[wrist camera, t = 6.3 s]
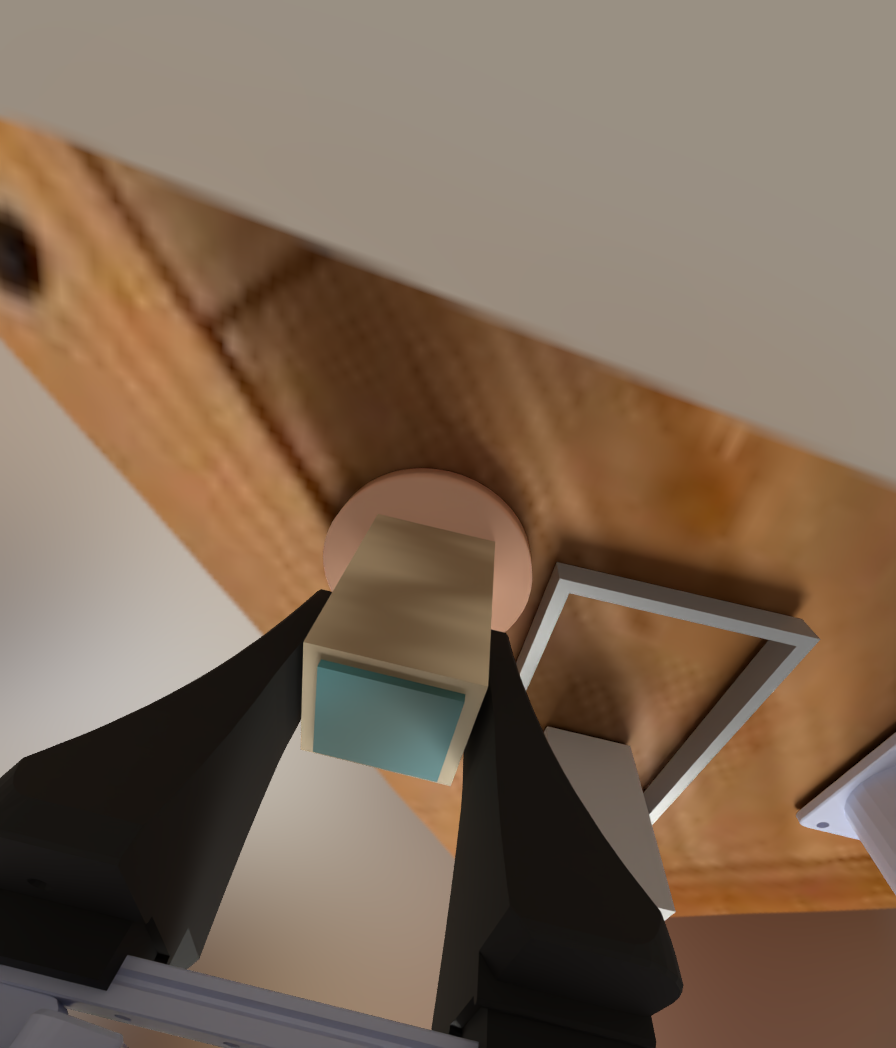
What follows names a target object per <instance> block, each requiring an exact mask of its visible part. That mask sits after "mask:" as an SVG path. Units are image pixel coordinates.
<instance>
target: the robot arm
mask: <svg viewBox="0 0 896 1048" xmlns="http://www.w3.org/2000/svg"><path fill="white" fill-rule="evenodd" d="M331 594H332V592H330V591H326V590H322V589H321V590H319V591H317V592H316V593H315V594H314V595H313V596H312V597H310V598H309V599H308V600H307V601H306V602H305V603H303V604H302V605H301V606H300V607H299V608H298V609H296V610H295V611H294V612H293V613H291V614H290V615H289V616H288V617H287V618H285V619H284V620H283V621H281V622H280V623H279V624H278V625H276V626H275V627H274V628H272V629H271V630H270V631H269V632H267V633H266V634H265V635H263V636H262V637H261V638H259V639H258V640H256V641H255V642H254V643H252V644H251V645H249V646H248V647H246V648H245V649H243V650H242V651H241V652H239V653H238V654H236V655H235V656H233V657H232V658H230V659H229V660H227V661H226V662H224V663H223V664H221V665H219V666H218V667H216V668H215V669H213V670H211V671H210V672H208V673H206V674H205V675H203V676H202V677H200V678H198V679H196V680H195V681H193V682H191V683H189V684H187V685H185V686H184V687H182V688H180V689H178V690H176V691H174V692H173V693H171V694H169V695H167V696H165V697H163V698H161V699H159V700H157V701H155V702H153V703H152V704H150V705H148V706H145V707H143V708H141V709H139V710H137V711H135V712H133V713H130V714H128V715H126V716H124V717H122V718H120V719H117V720H115V721H113V722H111V723H109V724H107V725H105V726H102V727H100V728H98V729H95V730H93V731H91V732H88V733H86V734H83V735H81V736H79V737H76V738H73V739H71V740H68V741H65V742H63V743H60V744H58V745H55V746H53V747H50V748H48V749H45V750H43V751H40V752H37V753H35V754H32V755H29V756H27V757H24V758H23V759H21V760H20V761H19V762H18V763H17V764H16V765H15V766H13V767H12V768H11V769H10V770H9V771H8V772H6V773H5V774H4V775H3V776H2V777H1V778H0V1048H128V1047H127V1046H126V1045H125V1044H124V1043H123V1035H122V1034H119V1033H117V1032H114V1031H111V1030H108V1029H106V1028H103V1027H100V1026H97V1025H95V1024H92V1023H89V1022H86V1021H84V1020H81V1019H78V1018H75V1017H73V1016H70V1015H68V1011H67V1009H66V1008H68V1009H71V1010H75V1011H79V1012H84V1013H87V1014H91V1015H96V1016H99V1017H103V1018H107V1019H111V1020H115V1021H119V1022H123V1023H127V1024H131V1025H135V1026H139V1027H143V1028H147V1029H151V1030H155V1031H160V1032H164V1033H168V1034H172V1035H175V1036H179V1037H183V1038H187V1039H191V1040H195V1041H200V1042H203V1043H207V1044H212V1045H215V1046H219V1047H223V1048H656V1038H655V1033H654V1028H653V1023H652V1018H651V1016H652V1015H653V1014H655V1013H657V1012H658V1011H660V1010H662V1009H663V1008H665V1007H667V1006H669V1005H671V1004H672V1003H674V1002H675V1001H676V1000H677V999H678V998H679V997H680V995H681V993H682V988H683V982H682V978H681V974H680V970H679V966H678V962H677V958H676V955H675V951H674V948H673V945H672V942H671V939H670V936H669V933H668V930H667V927H666V924H665V921H664V919H663V916H662V912H661V911H660V910H659V909H658V907H657V906H656V905H655V903H654V902H653V901H652V900H651V898H650V897H649V896H648V894H647V893H646V892H645V891H644V889H643V888H642V887H641V886H640V884H639V883H638V882H637V880H636V879H635V878H634V877H633V875H632V874H631V873H630V871H629V870H628V869H627V867H626V866H625V865H624V863H623V862H622V861H621V859H620V858H619V856H618V855H617V854H616V852H615V851H614V849H613V848H612V847H611V845H610V844H609V842H608V841H607V839H606V838H605V837H604V835H603V834H602V832H601V831H600V829H599V828H598V826H597V824H596V823H595V821H594V820H593V818H592V817H591V815H590V814H589V812H588V811H587V809H586V807H585V806H584V804H583V803H582V801H581V800H580V798H579V797H578V795H577V793H576V792H575V790H574V788H573V787H572V785H571V783H570V781H569V780H568V778H567V776H566V775H565V773H564V771H563V769H562V767H561V766H560V764H559V762H558V760H557V758H556V756H555V754H554V753H553V751H552V749H551V747H550V745H549V743H548V741H547V739H546V737H545V734H544V732H543V730H542V728H541V726H540V724H539V721H538V719H537V717H536V715H535V712H534V710H533V708H532V705H531V703H530V700H529V698H528V695H527V693H526V690H525V688H524V685H523V682H522V680H521V677H520V674H519V671H518V668H517V665H516V662H515V659H514V656H513V652H512V649H511V645H510V641H509V637H508V635H507V634H506V633H504V632H500V631H496V630H492V629H491V639H490V659H489V680H488V688H487V691H486V694H485V696H484V699H483V701H482V704H481V707H480V709H479V712H478V715H477V717H476V720H475V723H474V725H473V728H472V731H471V733H470V736H469V738H468V741H467V744H466V746H465V749H464V759H463V790H462V804H461V814H460V822H459V831H458V839H457V848H456V856H455V864H454V872H453V880H452V888H451V895H450V903H449V910H448V917H447V925H446V932H445V940H444V947H443V954H442V961H441V968H440V975H439V982H438V989H437V996H436V1003H435V1009H434V1015H433V1023H432V1030H428V1029H424V1028H420V1027H416V1026H412V1025H408V1024H404V1023H400V1022H396V1021H392V1020H388V1019H384V1018H380V1017H376V1016H372V1015H368V1014H364V1013H360V1012H356V1011H352V1010H348V1009H344V1008H339V1007H335V1006H331V1005H327V1004H324V1003H320V1002H316V1001H311V1000H307V999H303V998H299V997H295V996H291V995H287V994H283V993H279V992H275V991H271V990H267V989H263V988H259V987H255V986H251V985H247V984H243V983H239V982H235V981H231V980H227V979H223V978H219V977H215V976H211V975H207V974H202V973H198V972H194V971H190V970H187V968H189V967H190V966H192V965H193V964H194V963H195V962H196V961H197V960H198V959H199V958H200V955H201V953H202V950H203V947H204V945H205V942H206V939H207V936H208V934H209V932H210V929H211V926H212V924H213V921H214V918H215V916H216V913H217V911H218V908H219V906H220V903H221V900H222V898H223V895H224V893H225V890H226V887H227V885H228V882H229V880H230V877H231V875H232V872H233V870H234V867H235V865H236V862H237V860H238V857H239V855H240V852H241V850H242V847H243V845H244V842H245V840H246V838H247V835H248V833H249V830H250V828H251V826H252V823H253V821H254V818H255V816H256V814H257V811H258V809H259V806H260V804H261V801H262V799H263V797H264V795H265V792H266V790H267V788H268V785H269V783H270V781H271V778H272V776H273V774H274V772H275V769H276V767H277V765H278V762H279V760H280V758H281V756H282V754H283V752H284V750H285V748H286V746H287V744H288V742H289V741H290V739H291V737H292V735H293V733H294V731H295V730H296V728H297V726H298V724H299V722H300V720H301V714H302V677H303V642H304V640H305V638H306V637H307V635H308V633H309V632H310V630H311V628H312V626H313V625H314V623H315V621H316V619H317V618H318V616H319V614H320V613H321V611H322V609H323V607H324V606H325V604H326V602H327V601H328V599H329V597H330V595H331ZM796 817H797V819H798V821H799V822H800V824H801V825H802V826H805V827H808V828H812V829H816V830H820V831H825V832H829V833H833V834H837V835H841V836H845V837H850V838H854V839H858V840H860V841H861V842H862V844H863V845H864V847H865V848H866V850H867V851H868V853H869V854H870V856H871V858H872V859H873V861H874V862H875V864H876V865H877V867H878V868H879V870H880V871H881V873H882V875H883V876H884V878H885V879H886V881H887V882H888V884H889V885H890V887H891V889H892V890H893V892H894V893H895V895H896V732H895V733H894V734H893V735H892V736H890V737H889V738H888V739H887V740H885V741H884V742H883V743H882V744H880V745H879V746H878V747H877V748H876V749H874V750H873V751H872V752H871V753H869V754H868V755H867V756H866V757H864V758H863V759H862V760H861V761H860V762H858V763H857V764H856V765H855V766H853V767H852V768H851V769H850V770H848V771H847V772H846V773H845V774H844V775H842V776H841V777H840V778H839V779H837V780H836V781H835V782H834V783H832V784H831V785H830V786H829V787H828V788H826V789H825V790H824V791H823V792H821V793H820V794H819V795H818V796H816V797H815V798H814V799H813V800H812V801H810V802H809V803H808V804H807V805H805V806H804V807H803V808H802V809H800V810H799V811H798V812H797V814H796Z"/></svg>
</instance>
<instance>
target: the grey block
mask: <svg viewBox="0 0 896 1048" xmlns="http://www.w3.org/2000/svg"><path fill="white" fill-rule="evenodd" d="M544 734H545V737H546V739H547V741H548V743H549V745H550V747H551V749H552V751H553V753H554V754H555V756H556V758H557V760H558V762H559V764H560V766H561V767H562V769H563V771H564V773H565V775H566V776H567V778H568V780H569V781H570V783H571V785H572V787H573V788H574V790H575V792H576V793H577V795H578V797H579V798H580V800H581V801H582V803H583V804H584V806H585V807H586V809H587V811H588V812H589V814H590V815H591V817H592V818H593V820H594V821H595V823H596V824H597V826H598V828H599V829H600V831H601V832H602V834H603V835H604V837H605V838H606V839H607V841H608V842H609V844H610V845H611V847H612V848H613V849H614V851H615V852H616V854H617V855H618V856H619V858H620V859H621V861H622V862H623V863H624V865H625V866H626V867H627V869H628V870H629V871H630V873H631V874H632V875H633V877H634V878H635V879H636V880H637V882H638V883H639V884H640V886H641V887H642V888H643V889H644V891H645V892H646V893H647V894H648V896H649V897H650V898H651V900H652V901H653V902H654V903H655V905H656V906H657V907H658V909H659V910H660V911H661V912H662V916H663V919H664V921H665V920H666V919H667V918H669V917H670V916H671V915H672V914H674V913H675V912H676V911H675V908H674V904H673V901H672V897H671V893H670V890H669V886H668V882H667V879H666V875H665V871H664V868H663V864H662V860H661V857H660V853H659V849H658V846H657V842H656V838H655V835H654V831H653V827H652V824H651V820H650V816H649V813H648V809H647V805H646V802H645V798H644V794H643V791H642V787H641V783H640V780H639V776H638V772H637V769H636V765H635V761H634V758H633V754H632V750H631V747H630V746H628V745H624V744H620V743H616V742H611V741H607V740H603V739H599V738H594V737H590V736H586V735H582V734H578V733H573V732H569V731H565V730H561V729H556V728H552V727H548V726H547V727H546V729H545V731H544Z"/></svg>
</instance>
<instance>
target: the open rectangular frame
mask: <svg viewBox="0 0 896 1048" xmlns="http://www.w3.org/2000/svg"><path fill="white" fill-rule="evenodd" d="M569 593H571V594H575V595H579V596H584V597H588V598H592V599H597V600H601V601H605V602H609V603H614V604H618V605H622V606H627V607H631V608H635V609H639V610H644V611H648V612H652V613H656V614H661V615H665V616H669V617H674V618H678V619H682V620H686V621H691V622H695V623H699V624H704V625H708V626H712V627H716V628H721V629H725V630H729V631H734V632H738V633H742V634H746V635H751V636H755V637H759V638H763V639H768V641H767V643H766V644H765V645H764V646H763V647H762V649H761V650H760V651H759V652H758V654H757V655H756V656H755V657H754V658H753V660H752V661H751V662H750V663H749V665H748V666H747V667H746V668H745V669H744V671H743V672H742V673H741V674H740V676H739V677H738V678H737V679H736V680H735V682H734V683H733V684H732V685H731V687H730V688H729V689H728V690H727V691H726V693H725V694H724V695H723V696H722V698H721V699H720V700H719V701H718V702H717V704H716V705H715V706H714V707H713V709H712V710H711V711H710V712H709V713H708V715H707V716H706V717H705V718H704V720H703V721H702V722H701V723H700V724H699V726H698V727H697V728H696V729H695V731H694V732H693V733H692V734H691V735H690V737H689V738H688V739H687V740H686V742H685V743H684V744H683V745H682V746H681V748H680V749H679V750H678V751H677V753H676V754H675V755H674V756H673V757H672V759H671V760H670V761H669V762H668V763H667V765H666V766H665V767H664V768H663V770H662V771H661V772H660V773H659V774H658V776H657V777H656V778H655V779H654V781H653V782H652V783H651V784H650V785H649V787H648V788H647V789H646V790H645V792H644V793H643V794H644V798H645V802H646V805H647V809H648V813H649V816H650V820H651V824H652V825H653V823H654V822H655V821H656V820H657V819H658V818H659V817H660V816H661V815H662V814H663V812H664V811H665V810H666V809H667V808H668V807H669V806H670V805H671V804H672V802H673V801H674V800H675V799H676V798H677V797H678V796H679V795H680V794H681V793H682V791H683V790H684V789H685V788H686V787H687V786H688V785H689V784H690V783H691V782H692V780H693V779H694V778H695V777H696V776H697V775H698V774H699V773H700V772H701V771H702V769H703V768H704V767H705V766H706V765H707V764H708V763H709V762H710V761H711V759H712V758H713V757H714V756H715V755H716V754H717V753H718V752H719V751H720V750H721V748H722V747H723V746H724V745H725V744H726V743H727V742H728V741H729V740H730V739H731V737H732V736H733V735H734V734H735V733H736V732H737V731H738V730H739V729H740V727H741V726H742V725H743V724H744V723H745V722H746V721H747V720H748V719H749V718H750V716H751V715H752V714H753V713H754V712H755V711H756V710H757V709H758V708H759V707H760V705H761V704H762V703H763V702H764V701H765V700H766V699H767V698H768V697H769V696H770V694H771V693H772V692H773V691H774V690H775V689H776V688H777V687H778V686H779V684H780V683H781V682H782V681H783V680H784V679H785V678H786V677H787V676H788V675H789V673H790V672H791V671H792V670H793V669H794V668H795V667H796V666H797V665H798V664H799V662H800V661H801V660H802V659H803V658H804V657H805V656H806V655H807V654H808V652H809V651H810V650H811V649H812V648H813V647H814V646H815V645H816V644H817V643H818V641H819V640H820V638H819V637H818V636H817V635H816V634H815V633H814V632H813V631H812V630H811V628H810V627H809V626H808V625H807V624H806V623H805V622H804V621H803V620H802V619H799V618H795V617H791V616H787V615H782V614H778V613H774V612H769V611H765V610H761V609H757V608H752V607H748V606H744V605H739V604H735V603H731V602H726V601H722V600H718V599H714V598H709V597H705V596H701V595H696V594H692V593H688V592H683V591H679V590H675V589H671V588H666V587H662V586H658V585H653V584H649V583H645V582H641V581H636V580H632V579H628V578H623V577H619V576H615V575H610V574H606V573H602V572H598V571H593V570H589V569H585V568H580V567H576V566H572V565H567V564H563V563H559V562H557V563H556V565H555V568H554V570H553V573H552V575H551V578H550V580H549V582H548V585H547V587H546V590H545V592H544V595H543V597H542V600H541V602H540V605H539V607H538V610H537V612H536V615H535V617H534V620H533V622H532V625H531V627H530V630H529V632H528V635H527V637H526V640H525V642H524V645H523V647H522V650H521V652H520V655H519V657H518V660H517V662H516V665H517V668H518V671H519V674H520V677H521V680H522V682H523V685H524V688H525V690H527V688H528V685H529V683H530V681H531V679H532V676H533V674H534V672H535V669H536V667H537V665H538V663H539V660H540V658H541V656H542V654H543V651H544V649H545V647H546V645H547V642H548V640H549V638H550V636H551V633H552V631H553V629H554V626H555V624H556V622H557V620H558V617H559V615H560V613H561V611H562V608H563V606H564V604H565V602H566V599H567V597H568V595H569Z"/></svg>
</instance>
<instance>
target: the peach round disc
mask: <svg viewBox="0 0 896 1048" xmlns="http://www.w3.org/2000/svg"><path fill="white" fill-rule="evenodd" d="M378 514H380V515H385V516H389V517H393V518H397V519H402V520H406V521H410V522H414V523H418V524H423V525H427V526H431V527H435V528H439V529H444V530H448V531H452V532H456V533H460V534H465V535H469V536H473V537H477V538H481V539H486V540H490V541H494V542H495V558H494V578H493V598H492V619H491V629H492V630H496V631H500V632H505V631H507V630H508V629H509V628H510V627H511V626H512V625H513V624H514V623H515V622H516V621H517V619H518V618H519V616H520V615H521V613H522V612H523V610H524V608H525V606H526V604H527V602H528V599H529V595H530V592H531V585H532V565H531V554H530V548H529V543H528V539H527V536H526V534H525V531H524V528H523V526H522V525H521V523H520V521H519V519H518V517H517V516H516V515H515V513H514V512H513V511H512V509H511V508H510V507H509V506H508V505H507V504H506V503H505V502H504V501H503V500H502V499H501V498H500V497H499V496H498V495H497V494H495V493H494V492H493V491H491V490H490V489H489V488H487V487H485V486H484V485H482V484H480V483H479V482H477V481H475V480H473V479H470V478H468V477H466V476H463V475H460V474H457V473H453V472H450V471H445V470H439V469H431V468H414V469H404V470H399V471H395V472H391V473H388V474H385V475H383V476H380V477H378V478H376V479H374V480H372V481H370V482H368V483H367V484H366V485H364V486H363V487H361V488H360V489H359V490H358V491H357V492H356V493H355V494H354V495H353V496H352V497H351V498H350V499H349V500H348V501H347V503H346V504H345V505H344V507H343V508H342V509H341V510H340V512H339V513H338V515H337V516H336V517H335V519H334V520H333V522H332V524H331V526H330V528H329V530H328V532H327V536H326V539H325V543H324V550H323V565H324V570H325V575H326V578H327V581H328V584H329V587H330V589H331V591H332V592H333V590H334V589H335V587H336V585H337V583H338V582H339V580H340V578H341V576H342V575H343V573H344V571H345V570H346V568H347V566H348V564H349V563H350V561H351V559H352V558H353V556H354V554H355V552H356V551H357V549H358V547H359V545H360V544H361V542H362V540H363V539H364V537H365V535H366V533H367V532H368V530H369V528H370V527H371V525H372V523H373V521H374V520H375V518H376V516H377V515H378Z"/></svg>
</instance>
